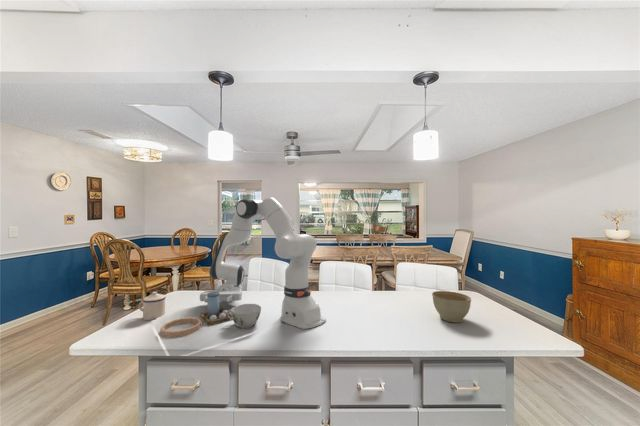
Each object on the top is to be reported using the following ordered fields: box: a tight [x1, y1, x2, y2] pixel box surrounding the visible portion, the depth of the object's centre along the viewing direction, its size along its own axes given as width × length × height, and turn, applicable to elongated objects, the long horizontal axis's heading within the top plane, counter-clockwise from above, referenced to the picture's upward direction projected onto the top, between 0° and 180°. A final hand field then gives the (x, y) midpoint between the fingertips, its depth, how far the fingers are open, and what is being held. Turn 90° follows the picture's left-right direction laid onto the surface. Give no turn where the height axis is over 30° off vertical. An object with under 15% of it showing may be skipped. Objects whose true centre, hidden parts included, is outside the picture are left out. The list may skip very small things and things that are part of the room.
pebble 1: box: [209, 315, 217, 321], centre depth 110 cm, size 3×3×3 cm
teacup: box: [227, 303, 262, 329], centre depth 107 cm, size 15×12×8 cm
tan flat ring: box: [160, 316, 202, 338], centre depth 103 cm, size 14×14×3 cm
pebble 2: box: [219, 313, 226, 319], centre depth 112 cm, size 3×3×3 cm
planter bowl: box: [431, 290, 472, 323], centre depth 116 cm, size 16×16×11 cm
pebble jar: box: [206, 292, 220, 319], centre depth 115 cm, size 5×5×11 cm
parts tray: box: [199, 308, 232, 326], centre depth 114 cm, size 13×11×2 cm
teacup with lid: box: [138, 291, 167, 321], centre depth 118 cm, size 12×9×12 cm
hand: (216, 300), depth 119 cm, fingers open, 8 cm apart
